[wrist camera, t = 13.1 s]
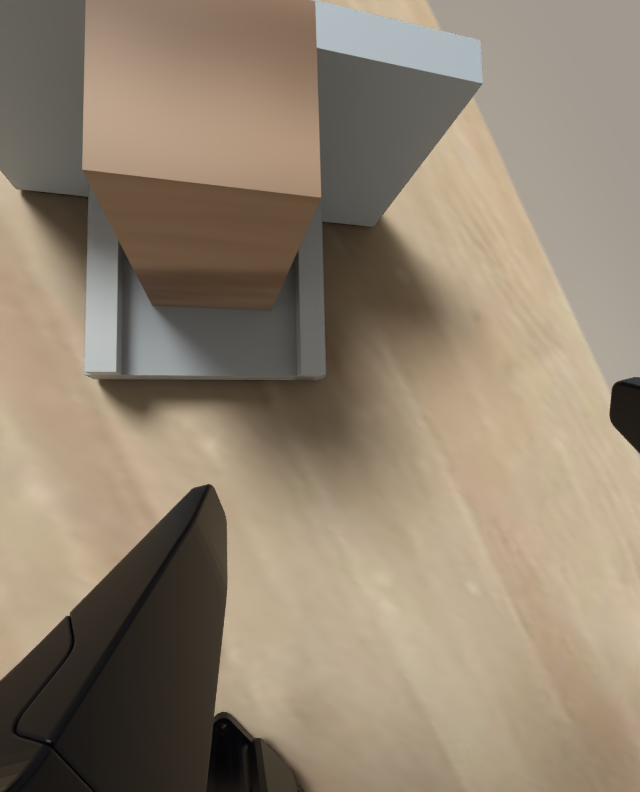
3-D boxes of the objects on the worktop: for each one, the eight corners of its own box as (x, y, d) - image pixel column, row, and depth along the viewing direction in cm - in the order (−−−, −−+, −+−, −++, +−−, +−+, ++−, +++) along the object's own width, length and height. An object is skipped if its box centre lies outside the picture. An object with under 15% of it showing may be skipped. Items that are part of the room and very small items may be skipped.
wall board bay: (379, 380, 23) (499, 342, 13) (8, 378, 18) (-225, 318, 9) (372, 200, 24) (480, 40, 14) (17, 157, 19) (-187, -123, 10)
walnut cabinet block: (271, 310, 20) (321, 197, 10) (152, 305, 19) (81, 169, 9) (269, 204, 20) (315, 0, 11) (152, 192, 19) (86, -54, 9)
